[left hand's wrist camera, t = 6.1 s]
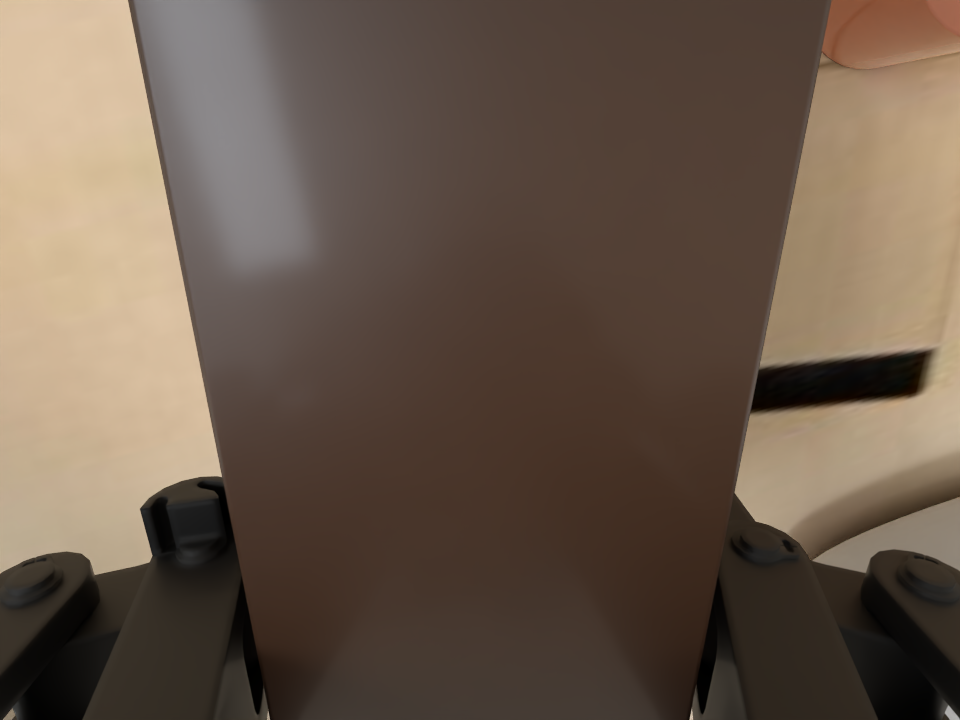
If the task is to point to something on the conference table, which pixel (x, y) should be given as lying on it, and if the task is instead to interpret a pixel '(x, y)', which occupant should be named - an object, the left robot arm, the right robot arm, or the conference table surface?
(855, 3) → the salmon pink cylinder
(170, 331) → the conference table surface
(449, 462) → the walnut beam
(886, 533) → the projector
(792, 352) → the conference table surface
